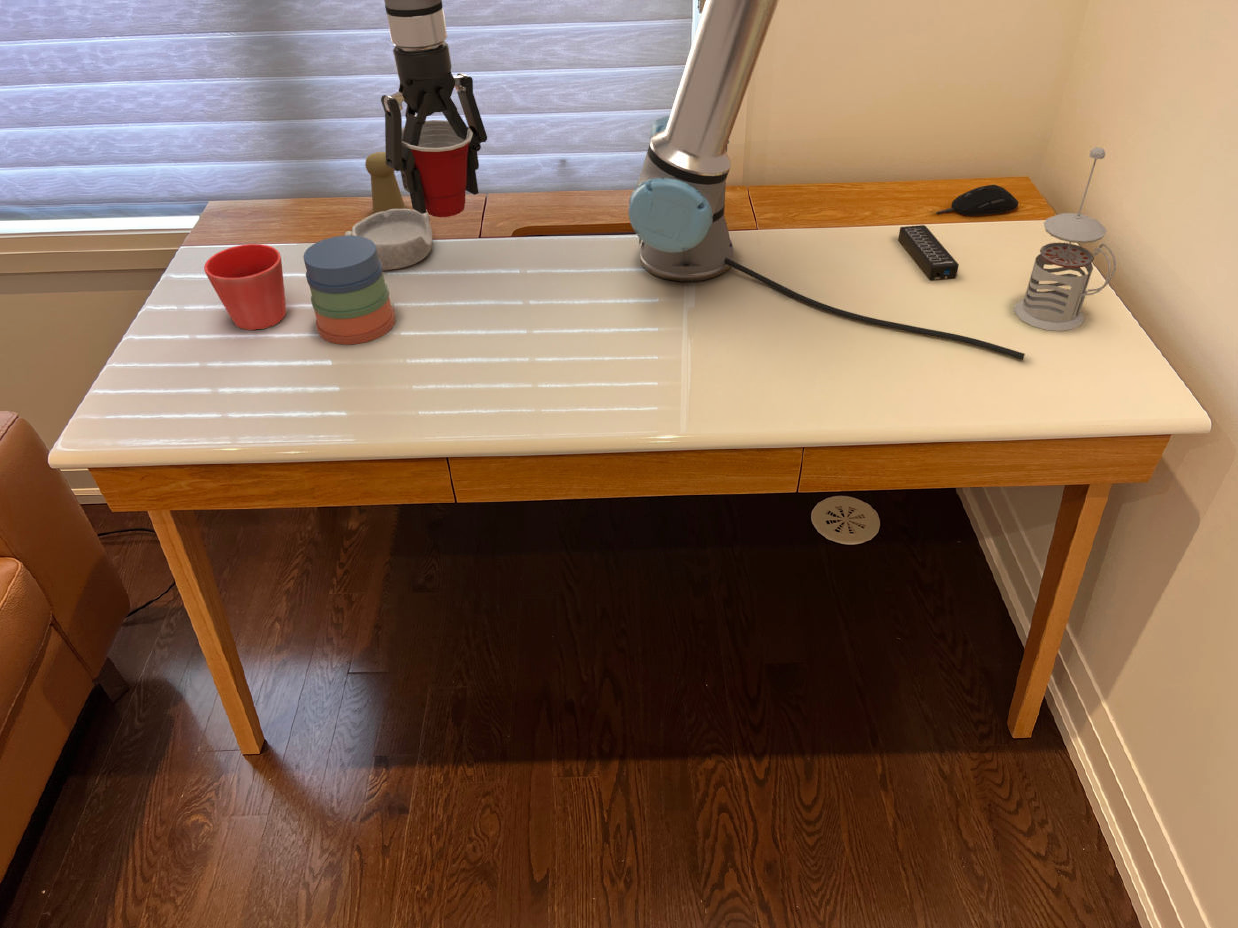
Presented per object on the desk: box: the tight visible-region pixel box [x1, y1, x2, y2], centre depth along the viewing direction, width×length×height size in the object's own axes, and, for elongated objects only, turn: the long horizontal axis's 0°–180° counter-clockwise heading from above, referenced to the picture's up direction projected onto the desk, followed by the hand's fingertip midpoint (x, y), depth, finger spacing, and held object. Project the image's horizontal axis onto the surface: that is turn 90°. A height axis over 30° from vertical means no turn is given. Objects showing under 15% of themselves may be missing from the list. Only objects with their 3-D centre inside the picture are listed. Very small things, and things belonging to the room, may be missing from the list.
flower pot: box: [203, 243, 287, 331], centre depth 142 cm, size 11×11×10 cm
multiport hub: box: [897, 224, 960, 282], centre depth 154 cm, size 4×14×2 cm, turn 7°
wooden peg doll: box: [364, 151, 407, 214], centre depth 169 cm, size 6×6×11 cm
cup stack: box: [303, 235, 397, 345], centre depth 139 cm, size 12×12×12 cm
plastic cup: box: [402, 119, 473, 218], centre depth 140 cm, size 11×11×12 cm
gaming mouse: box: [936, 184, 1019, 217], centre depth 166 cm, size 6×15×4 cm, turn 101°
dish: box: [344, 208, 433, 271], centre depth 159 cm, size 14×14×5 cm
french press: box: [1013, 146, 1117, 332], centre depth 132 cm, size 10×12×25 cm
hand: (446, 200), depth 143 cm, fingers closed on plastic cup, 9 cm apart
